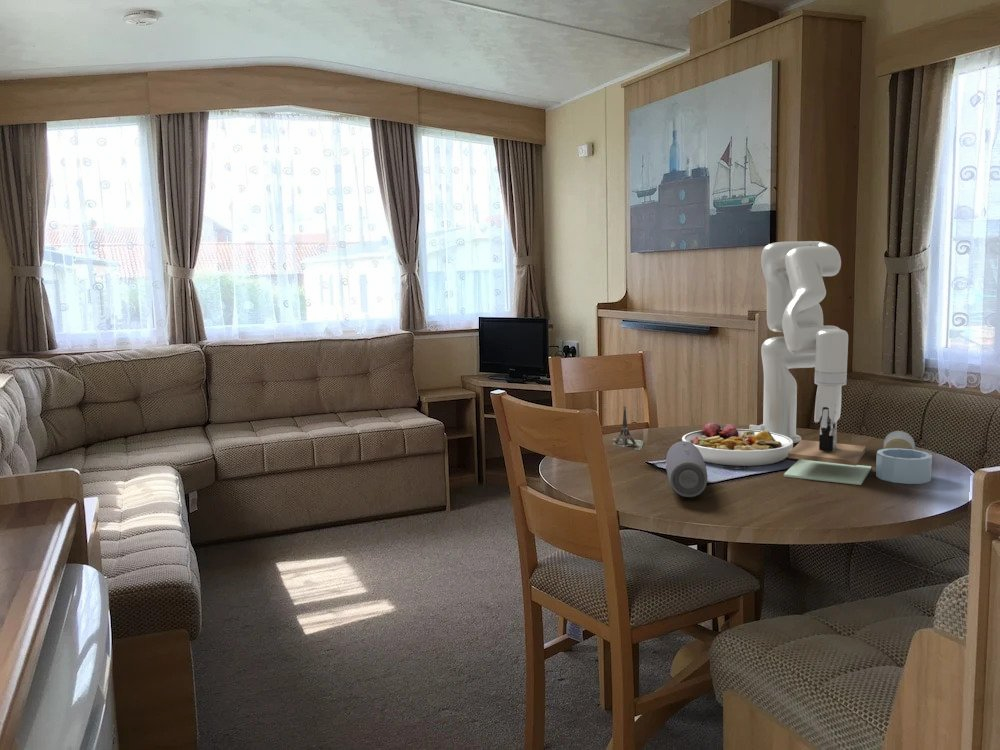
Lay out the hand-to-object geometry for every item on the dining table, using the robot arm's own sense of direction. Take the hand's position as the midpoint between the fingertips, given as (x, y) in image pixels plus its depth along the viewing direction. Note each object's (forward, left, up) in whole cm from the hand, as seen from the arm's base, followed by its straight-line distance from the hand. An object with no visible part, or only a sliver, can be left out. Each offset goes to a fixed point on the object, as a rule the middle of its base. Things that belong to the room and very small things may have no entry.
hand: (827, 447), depth 205 cm
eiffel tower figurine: (-59, +8, -7) cm, 60 cm away
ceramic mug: (+16, +20, -7) cm, 27 cm away
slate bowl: (+17, +2, -6) cm, 19 cm away
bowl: (-26, +8, -7) cm, 28 cm away
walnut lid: (0, 0, -2) cm, 2 cm away
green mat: (0, -1, -6) cm, 6 cm away
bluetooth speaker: (-27, -32, -7) cm, 42 cm away
